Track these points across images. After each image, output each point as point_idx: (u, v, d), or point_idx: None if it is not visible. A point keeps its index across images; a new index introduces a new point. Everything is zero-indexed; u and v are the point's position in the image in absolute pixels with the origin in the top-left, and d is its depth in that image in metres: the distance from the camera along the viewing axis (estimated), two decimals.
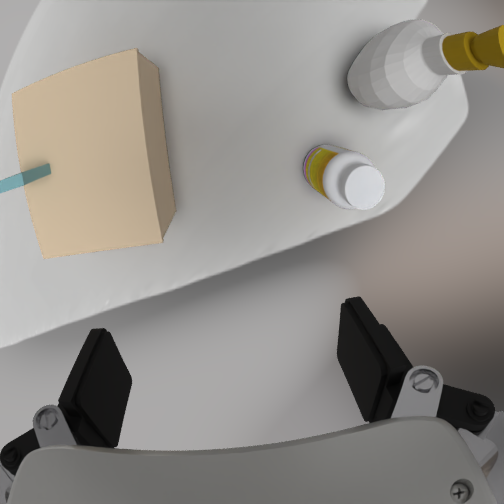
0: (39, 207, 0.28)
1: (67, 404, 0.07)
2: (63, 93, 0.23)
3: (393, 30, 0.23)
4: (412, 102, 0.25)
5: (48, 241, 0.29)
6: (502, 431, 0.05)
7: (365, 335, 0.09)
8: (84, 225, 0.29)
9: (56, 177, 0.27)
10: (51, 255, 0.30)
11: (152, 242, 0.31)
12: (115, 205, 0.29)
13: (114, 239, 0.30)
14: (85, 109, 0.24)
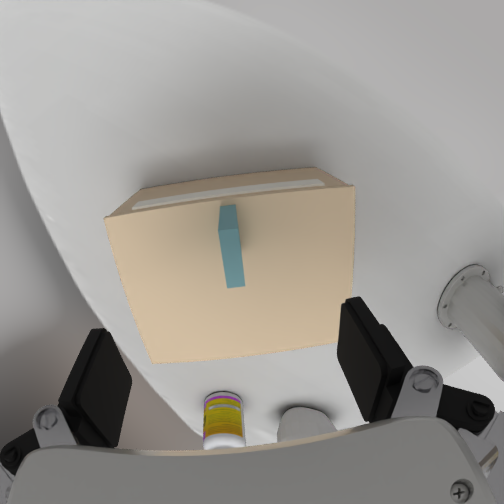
0: (179, 226, 0.23)
1: (67, 404, 0.07)
2: (325, 272, 0.26)
3: None
4: None
5: (130, 233, 0.23)
6: (502, 431, 0.05)
7: (365, 335, 0.09)
8: (158, 291, 0.26)
9: (220, 260, 0.25)
10: (110, 234, 0.23)
11: (150, 356, 0.29)
12: (186, 329, 0.27)
13: (146, 323, 0.27)
14: (298, 300, 0.27)
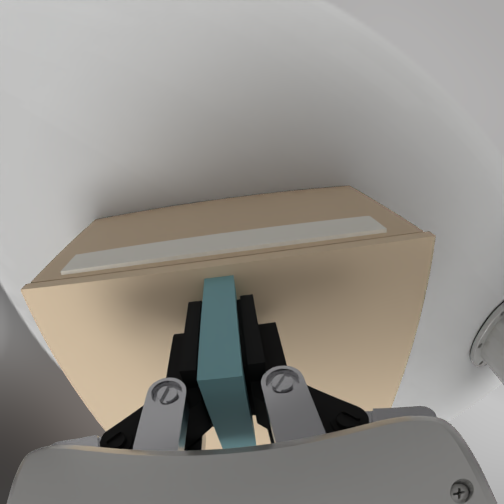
0: (135, 310, 0.13)
1: (190, 373, 0.08)
2: (372, 362, 0.16)
3: None
4: None
5: (61, 315, 0.12)
6: None
7: (240, 330, 0.10)
8: (118, 391, 0.15)
9: None
10: (35, 313, 0.12)
11: None
12: None
13: (110, 421, 0.16)
14: None
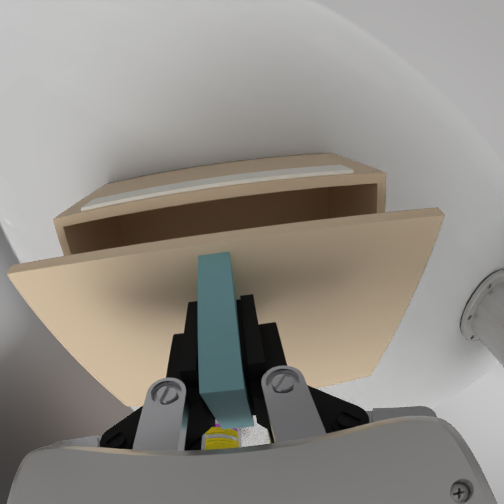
0: (127, 286, 0.12)
1: (189, 373, 0.08)
2: (365, 325, 0.16)
3: None
4: None
5: (51, 294, 0.12)
6: None
7: (240, 330, 0.10)
8: (115, 355, 0.16)
9: None
10: (24, 293, 0.12)
11: (122, 401, 0.21)
12: None
13: (109, 379, 0.18)
14: (320, 354, 0.18)
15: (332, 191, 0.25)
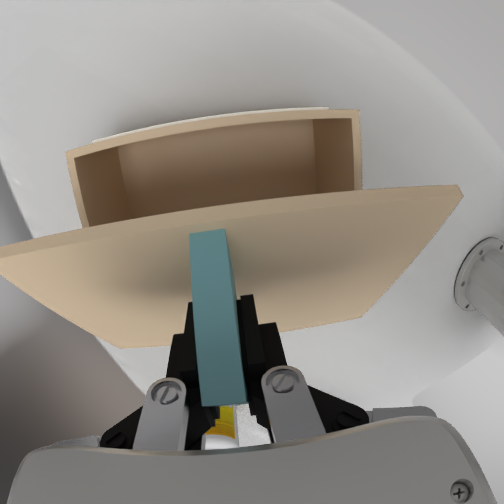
0: (112, 262, 0.11)
1: (189, 373, 0.08)
2: (362, 281, 0.16)
3: None
4: None
5: (33, 273, 0.11)
6: None
7: (241, 330, 0.10)
8: (106, 314, 0.16)
9: None
10: (6, 275, 0.10)
11: (116, 345, 0.22)
12: (155, 332, 0.20)
13: (102, 331, 0.18)
14: (314, 304, 0.18)
15: (318, 144, 0.26)
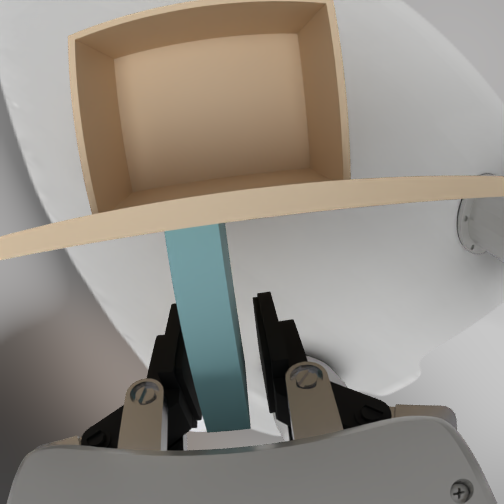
0: None
1: (167, 374, 0.08)
2: None
3: None
4: (283, 437, 0.31)
5: None
6: None
7: (261, 328, 0.10)
8: None
9: None
10: None
11: None
12: None
13: None
14: None
15: (303, 52, 0.24)
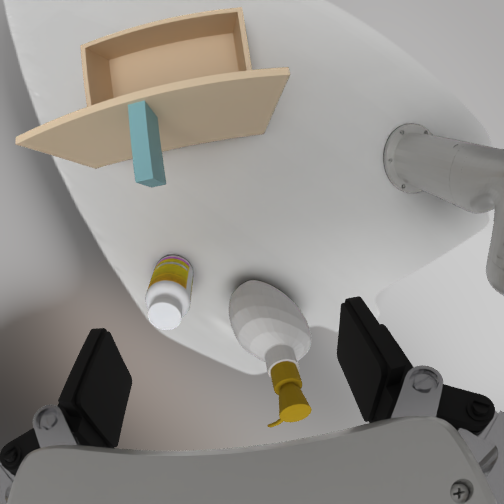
0: (91, 122, 0.18)
1: (67, 404, 0.07)
2: (244, 113, 0.24)
3: (295, 319, 0.43)
4: (238, 339, 0.42)
5: (46, 139, 0.18)
6: (502, 431, 0.05)
7: (365, 335, 0.09)
8: (87, 148, 0.24)
9: None
10: (28, 146, 0.18)
11: (93, 167, 0.31)
12: (118, 152, 0.28)
13: (83, 159, 0.27)
14: (217, 125, 0.27)
15: (235, 45, 0.35)
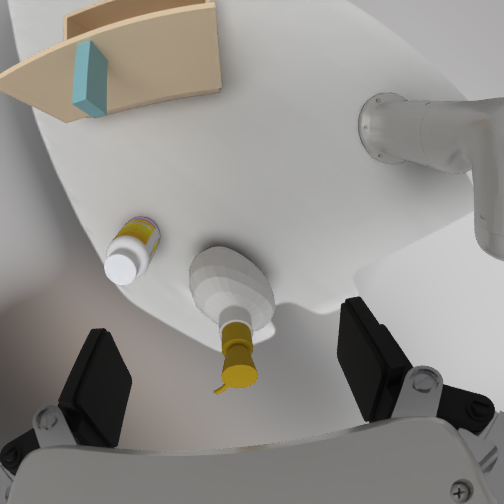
0: (49, 64, 0.17)
1: (67, 404, 0.07)
2: (190, 57, 0.23)
3: (256, 283, 0.42)
4: (194, 300, 0.40)
5: (14, 81, 0.17)
6: (502, 431, 0.05)
7: (365, 335, 0.09)
8: (52, 95, 0.22)
9: None
10: (0, 88, 0.16)
11: (63, 121, 0.30)
12: None
13: (52, 109, 0.25)
14: (168, 73, 0.25)
15: None
